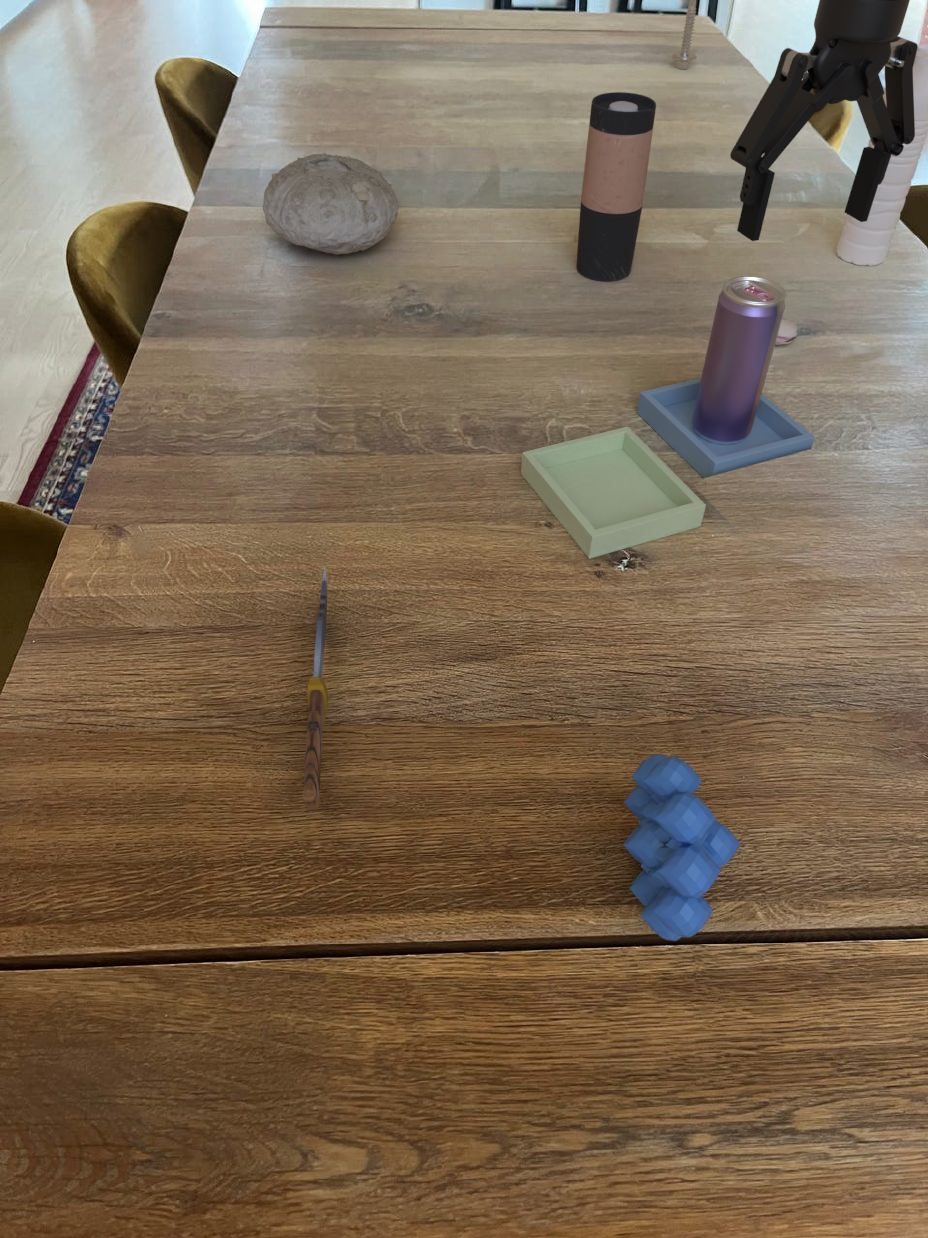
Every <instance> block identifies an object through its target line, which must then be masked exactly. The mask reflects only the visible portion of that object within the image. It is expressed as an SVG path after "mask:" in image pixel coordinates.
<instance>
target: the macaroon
mask: <svg viewBox="0 0 928 1238" xmlns="http://www.w3.org/2000/svg"><path fill="white" fill-rule="evenodd" d="M798 329H799V328H798V326H797V323H796V322H794V321H792V320H789V319H786V318H782V320H781V324H780V327H779V331H778V335H777V338H776V342H775V346H781V345H788V344H791V343H792V342H793V341H794V340H795V339H796V338H797V335H798Z"/></svg>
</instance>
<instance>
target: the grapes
mask: <svg viewBox="0 0 928 1238" xmlns="http://www.w3.org/2000/svg"><path fill="white" fill-rule="evenodd" d="M631 778H632V780H633V781H634V782H635V784H636V786H635V787H633V789H632V791H631V792H630V793H629V794H628V796H627V797H626V799H625V800H624V802H623V803H624V805H625V806H626V807H627V809H628V810H629V811H630V812H631V813H632V814H633V815H634V817H636V819H638V820H639V821H638V823H637V825H638V826H637V827H636V828H634V829H633V830H632V831H631V833H630V834H629V835H628V837H627V838H626V840H625V842H624V843H623V847H624V848H625V849H626V850H627V852H628V853H629V854H630V855H631V857H632V858H633V859H634V860H635V861H637V862H638V863H639V864H641V865H640V867H641V869H643V870H641V872H639V874H638V875H637V876H636V878H635V879H634V881H633V882H632V883H631V885H630V887H629V890H630V891H631V893H632V894H633V895H634V896H635V897H636V898H637V900H638V901H639V902H640V903H641V905H643V906H644V907H645V908H644V909H643V911H642V912H641V915H640V917H641V918H642V919H643V921H644V922H645V923H646V924H647V926H648V927H649V928H650V929H651V930H652V932H654V933H655V934H656V935H658V936H659V937H660V938H662V939H664V940H665V941H669V942H670V941H672V942H678V941H679V940H680V939H681V938H692V937H693V936H695V935H697V934H698V933H699V932H700V931H701V930H702V929H703V927H704V926H705V925H706V923H707V922H708V920H709V919H710V917H711V915H712V913H713V912H714V909H713V907H712V906H711V905H710V903H709V902H708V901H707V900H706V899H705V897H704V896H703V895H704V894H707V892H708V891H709V890H710V889H711V888H712V886H713V885H714V883H715V882H716V880H717V879H718V878H719V875H720V874H721V871H722V870H721V868H722V867H724V866H725V865H726V864H728V863H729V862H730V861H731V860H732V858H733V857H734V856H735V854H736V853H737V851H738V849H739V847H740V846H741V841H739V839H738V838H737V836H736V835H735V834H734V833H733V832H732V831H731V830H730V829H729V827H727V826H726V825H725V824H723V823H721V822H720V821H717V820H716V819H717V817H716V815H715V814H714V813H713V811H712V810H711V809H710V808H709V807H708V806H707V804H706V803H705V802H704V801H703V800H701V799H700V797H698V796H696V795H694V794H695V793H696V791H697V790H698V789H699V787H700V785H701V784H702V782H703V780H702V779H701V777H700V775H698V773H697V772H696V771H695V770H694V768H692V767H691V765H689V764H688V763H687V762H686V761H685V760H683V759H681V758H679V757H677V756H668V755H666V754H664V753H661V752H660V753H653V754H651V755H649V756H648V757H646V758H645V759H644V760H643V761H641V763H640V764H639V765H638V767H637V769H636V770H635V771H634V773H633V774H632V775H631Z"/></svg>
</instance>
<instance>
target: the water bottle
mask: <svg viewBox="0 0 928 1238" xmlns="http://www.w3.org/2000/svg"><path fill="white" fill-rule="evenodd" d="M917 46H918V48H917V52H916V57H915V61H914V65H913V94H914V124H915V137H914V139H913V141H912V142H911V143H910V144H902V145H904V148H903V151H902V152H901V154H900V155H898V156H894V155H891V158H890V161H889V164H888V167H887V170H886V173H885V176H884V179H883V181H882V183H881V184H879V185H878V188H877V191H876V194H875V197H874V200H873V203H872V206H871V209H870V213H869V216H868V219H867V221H864V222H860V221H858V220H857V219H855V218H853V217H851V216H850V215H848V214H846V218H845V221H844V222H843V226H842V233H841V234H840V236H839V239H838V243H837V247H836V250H835V251H836V255H837V256H838V257H839V258H840V259H841V260H842V261H844V262H847V263H850V264H851V263H852V264H854V265H856V266H862V267H863V266H864V267H865V266H866V265H867V266H869V267H873V266H878V265H880V264H883V263H884V262H885V261H886V260H887V257H888V254H889V251H890V248H891V245H892V240H893V239H894V236H895V233H896V229H897V225H898V224H899V221H900V219H901V212H902V211H903V209H904V206H905V203H906V197H907V196H908V194H909V191H910V189H911V186H912V180H913V179H914V177H915V173H916V171H917V167H918V164H919V160H920V159H921V154H922V151H923V149H924V146H925V143H926V139H927V137H928V44H926V43H925V44H917ZM883 98H884V101H885V104H886V88H885V87H884V95H883ZM886 107H887V105H886ZM867 147H871V148H873V149H874V145H873V144H872V142H871V139H870V138H869V140H868V144H867Z"/></svg>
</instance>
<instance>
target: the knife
mask: <svg viewBox="0 0 928 1238" xmlns="http://www.w3.org/2000/svg"><path fill="white" fill-rule="evenodd" d="M326 570H327V568H326V567H324V570H323V575H322V579H321V584H320V596H319V605H318V613H317V617H316V623H315V624H316V625H315V641H314V657H313V673H312V677H308V681H307V688H306V689H307V690H306V700H307V701H306V702H307V704H308V705H307V706H308V717H307V729H306V742H305V757H304V758H305V760H304V777H303V790H302V801H303V802H302V803H303V804H304V805H305V806H306V808H307V809H308V810H310V811H316V810H318V809H319V807H320V794H321V775H322V774H321V773H322V772H321V771H322V758H323V757H322V756H323V739H324V738H323V737H324V723H325V722H326V717H327V713H328V705H329V696H328V695H329V694H328V689H327V685H326V682H325V679H324V677H323V671H324V656H325V648H326V647H325V646H326V635H327V621H328V619H327V618H328V579H327V571H326Z"/></svg>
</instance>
